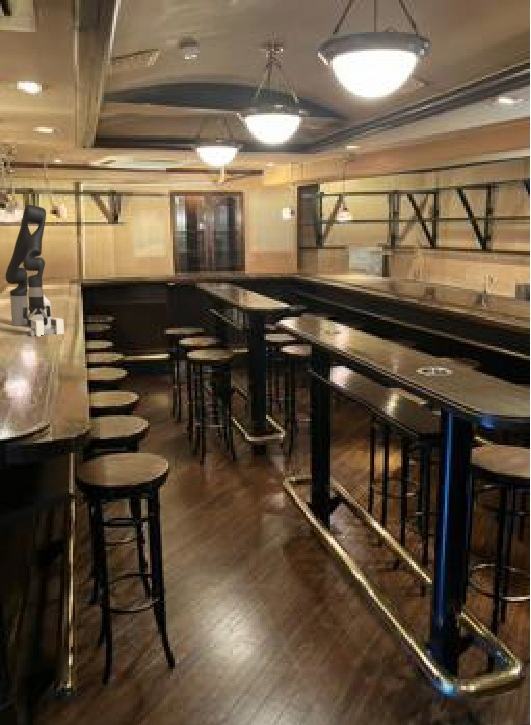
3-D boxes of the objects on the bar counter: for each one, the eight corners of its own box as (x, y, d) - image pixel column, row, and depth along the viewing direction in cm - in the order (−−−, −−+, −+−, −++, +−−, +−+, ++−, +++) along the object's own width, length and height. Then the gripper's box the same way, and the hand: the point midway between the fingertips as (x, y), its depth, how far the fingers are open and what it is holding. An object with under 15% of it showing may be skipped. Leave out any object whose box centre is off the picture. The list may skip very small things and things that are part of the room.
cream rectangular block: (31, 334, 333) (30, 320, 332) (39, 334, 336) (38, 319, 335) (37, 336, 328) (36, 321, 327) (45, 335, 331) (44, 320, 330)
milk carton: (52, 327, 358) (50, 294, 354) (46, 329, 351) (44, 296, 347) (40, 327, 358) (38, 294, 354) (34, 329, 351) (32, 295, 347)
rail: (29, 335, 330) (29, 330, 330) (60, 332, 342) (59, 327, 341) (31, 336, 329) (31, 330, 328) (62, 333, 340) (61, 327, 340)
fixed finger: (50, 332, 341) (49, 318, 339) (58, 332, 344) (57, 317, 342) (56, 334, 336) (55, 319, 334) (64, 333, 339) (63, 319, 337)
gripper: (45, 294, 335) (47, 323, 339) (19, 295, 326) (21, 326, 329) (52, 295, 330) (53, 325, 333) (25, 297, 320) (27, 328, 324)
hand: (37, 325), depth 331 cm, fingers open, 8 cm apart
